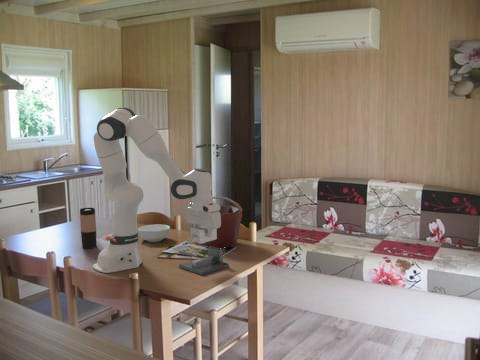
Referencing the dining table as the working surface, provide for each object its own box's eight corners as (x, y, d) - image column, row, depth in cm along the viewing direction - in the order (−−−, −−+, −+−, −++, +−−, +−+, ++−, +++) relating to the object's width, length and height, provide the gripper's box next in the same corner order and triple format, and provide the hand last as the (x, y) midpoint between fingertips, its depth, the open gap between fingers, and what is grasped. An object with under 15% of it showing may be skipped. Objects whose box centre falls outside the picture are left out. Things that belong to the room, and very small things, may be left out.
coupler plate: (201, 275, 233) (201, 258, 232) (179, 267, 244) (178, 251, 243) (228, 267, 244) (228, 251, 243) (205, 259, 255) (205, 244, 254)
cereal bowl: (173, 236, 299) (172, 224, 297) (166, 244, 282) (165, 231, 281) (143, 236, 300) (142, 223, 299) (134, 244, 284) (134, 231, 283)
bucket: (188, 245, 279) (187, 198, 275) (214, 236, 298) (213, 191, 294) (227, 252, 266) (226, 203, 262) (251, 242, 284) (251, 196, 280)
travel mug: (78, 247, 278) (76, 209, 275) (89, 244, 285) (87, 207, 282) (89, 249, 275) (87, 211, 272) (100, 245, 281) (98, 208, 278)
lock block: (199, 243, 236) (199, 230, 235) (190, 241, 241) (190, 227, 240) (216, 239, 243) (216, 225, 242) (207, 236, 248) (207, 223, 247)
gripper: (182, 203, 245) (183, 232, 247) (212, 209, 230) (213, 240, 232) (193, 200, 249) (194, 229, 251) (222, 206, 234) (223, 237, 237)
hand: (203, 235), depth 242 cm, fingers closed on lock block, 6 cm apart
